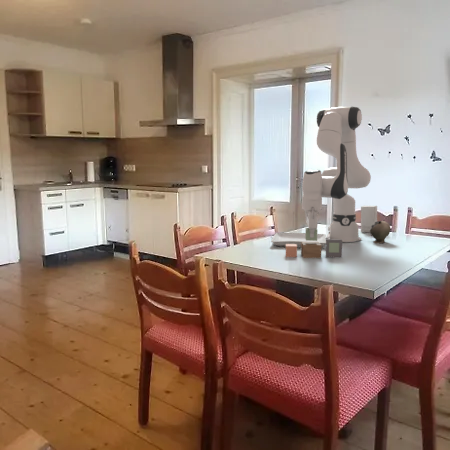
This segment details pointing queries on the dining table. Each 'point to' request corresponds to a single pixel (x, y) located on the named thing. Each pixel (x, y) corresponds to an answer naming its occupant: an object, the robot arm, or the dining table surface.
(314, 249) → the walnut block
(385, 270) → the dining table surface
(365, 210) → the skincare box
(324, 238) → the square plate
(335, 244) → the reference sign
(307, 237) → the sage green cube
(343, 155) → the robot arm
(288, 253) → the terracotta cube
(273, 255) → the dining table surface
